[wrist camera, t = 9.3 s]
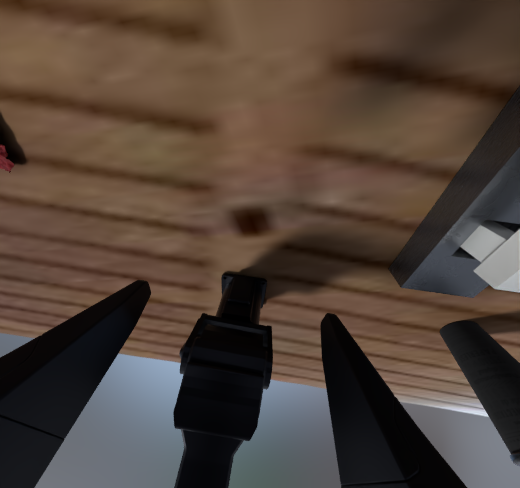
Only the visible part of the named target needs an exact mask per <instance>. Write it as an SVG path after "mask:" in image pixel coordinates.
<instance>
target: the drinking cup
mask: <svg viewBox="0 0 520 488" xmlns="http://www.w3.org/2000/svg"><path fill="white" fill-rule="evenodd" d="M440 334H441V336H442V338H443V339H444V341H445V343H446V345H447V346H448V348H449V350H450V351H451V353H452V355H453V356H454V358H455V360H456V361H457V363H458V365H459V366H460V368H461V370H462V372H463V373H464V375H465V377H466V378H467V380H468V382H469V383H470V385H471V387H472V388H473V390H474V392H475V394H476V395H477V397H478V399H479V400H480V402H481V404H482V405H483V407H484V409H485V410H486V412H487V414H488V416H489V417H490V419H491V421H492V422H493V424H494V426H495V427H496V429H497V430H498V432H499V434H500V436H501V437H502V439H503V441H504V443H505V444H506V446H507V448H508V449H509V451H510V453H511V455H510V458H511V460H512V461H513V463H514V464H515V465H517V466H520V363H519V362H518V361H517V360H516V359H515V358H513V357H512V356H511V355H510V354H509V353H508V352H507V351H506V350H505V349H504V348H503V347H502V346H501V345H499V344H498V343H497V342H496V341H495V340H494V339H493V338H492V337H491V336H490V335H489V334H488V333H487V332H485V331H484V330H483V329H482V328H481V327H480V326H479V325H478V324H477V323H475V322H472V321H459V322H454V323H451V324H448V325H446V326H444V327H443V328H442V329H441V330H440Z"/></svg>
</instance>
